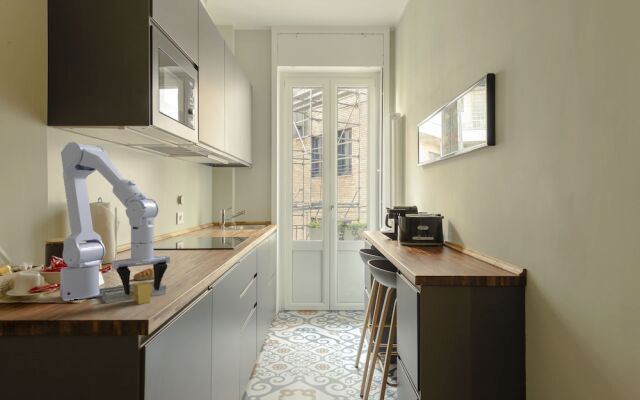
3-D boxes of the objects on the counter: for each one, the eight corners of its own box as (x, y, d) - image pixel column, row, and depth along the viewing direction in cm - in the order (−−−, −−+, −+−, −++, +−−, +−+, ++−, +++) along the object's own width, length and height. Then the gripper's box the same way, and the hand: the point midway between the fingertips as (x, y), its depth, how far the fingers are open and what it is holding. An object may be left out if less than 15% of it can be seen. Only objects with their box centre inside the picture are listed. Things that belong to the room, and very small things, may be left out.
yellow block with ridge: (137, 304, 102) (137, 286, 102) (132, 300, 106) (132, 282, 106) (151, 302, 104) (151, 284, 104) (145, 298, 108) (146, 281, 108)
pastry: (138, 282, 128) (138, 271, 128) (129, 280, 133) (129, 269, 133) (165, 278, 136) (165, 267, 136) (155, 276, 140) (155, 265, 140)
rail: (105, 303, 103) (105, 294, 103) (99, 297, 109) (99, 288, 109) (165, 293, 113) (166, 285, 113) (156, 288, 120) (156, 280, 120)
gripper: (117, 246, 97) (116, 299, 97) (174, 242, 106) (173, 290, 107) (110, 243, 102) (110, 293, 102) (165, 239, 112) (165, 285, 112)
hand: (142, 291), depth 105 cm, fingers open, 7 cm apart
